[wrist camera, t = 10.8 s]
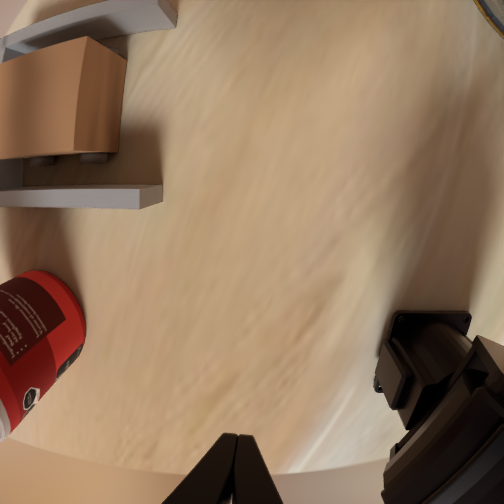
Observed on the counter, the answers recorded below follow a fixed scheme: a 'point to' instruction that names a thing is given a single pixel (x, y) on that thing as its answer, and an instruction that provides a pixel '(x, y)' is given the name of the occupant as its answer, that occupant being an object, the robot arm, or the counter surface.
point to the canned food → (35, 341)
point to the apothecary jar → (493, 13)
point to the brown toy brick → (62, 102)
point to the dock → (61, 30)
